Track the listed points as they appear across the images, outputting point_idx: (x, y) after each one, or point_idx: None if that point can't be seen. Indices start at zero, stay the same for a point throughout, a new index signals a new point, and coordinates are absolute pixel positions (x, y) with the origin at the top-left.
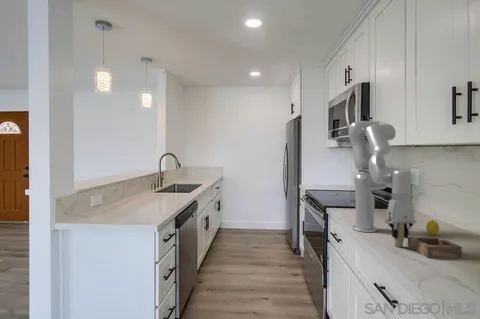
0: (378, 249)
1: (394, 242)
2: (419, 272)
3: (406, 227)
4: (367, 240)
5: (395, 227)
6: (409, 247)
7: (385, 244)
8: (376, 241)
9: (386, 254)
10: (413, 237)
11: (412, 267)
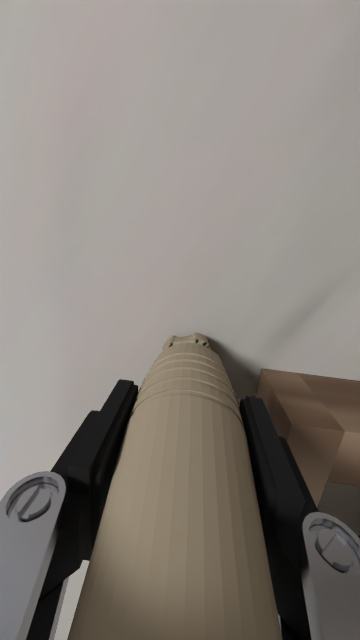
0: (9, 385)
1: (163, 346)
2: (65, 623)
3: (287, 616)
4: (2, 151)
5: (37, 606)
6: (257, 390)
7: (115, 292)
8: (77, 196)
9: (23, 463)
10: (337, 450)
11: (66, 592)
